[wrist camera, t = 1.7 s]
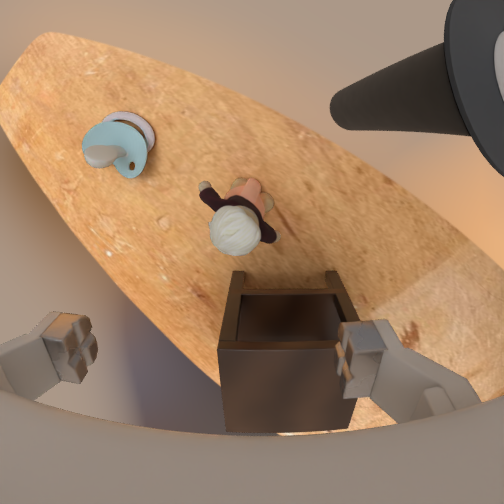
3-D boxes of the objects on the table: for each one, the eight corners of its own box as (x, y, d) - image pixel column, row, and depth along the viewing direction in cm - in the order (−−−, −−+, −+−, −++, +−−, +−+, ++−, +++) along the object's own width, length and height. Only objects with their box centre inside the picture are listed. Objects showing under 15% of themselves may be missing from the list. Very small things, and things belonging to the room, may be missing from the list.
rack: (336, 270, 33) (372, 345, 21) (327, 345, 36) (347, 428, 24) (232, 270, 33) (216, 349, 21) (236, 346, 37) (226, 432, 25)
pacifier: (108, 103, 27) (88, 156, 29) (77, 97, 21) (55, 161, 23) (168, 126, 28) (144, 181, 30) (146, 123, 22) (120, 192, 24)
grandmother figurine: (290, 194, 30) (308, 235, 18) (273, 228, 31) (278, 288, 19) (217, 160, 29) (186, 179, 17) (201, 196, 30) (163, 238, 19)
